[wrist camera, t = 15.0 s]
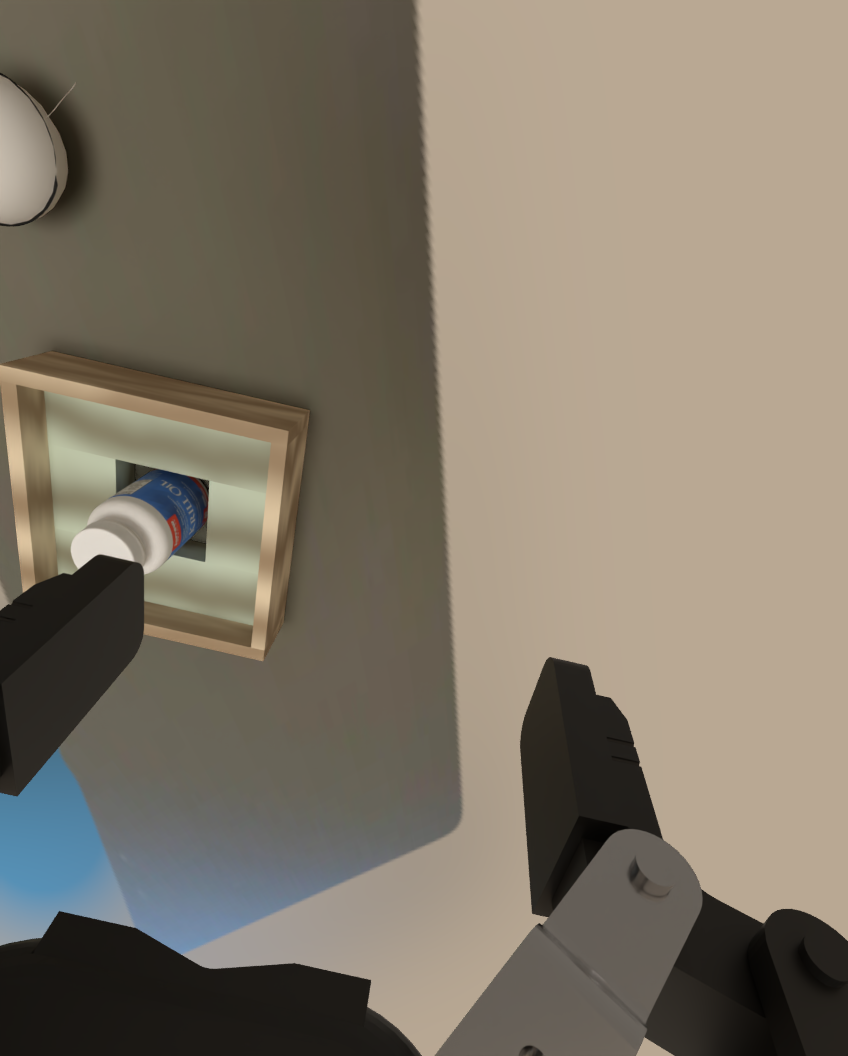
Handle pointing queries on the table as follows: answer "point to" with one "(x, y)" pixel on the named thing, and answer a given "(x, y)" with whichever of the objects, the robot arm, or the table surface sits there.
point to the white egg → (28, 157)
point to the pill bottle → (145, 520)
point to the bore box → (172, 445)
